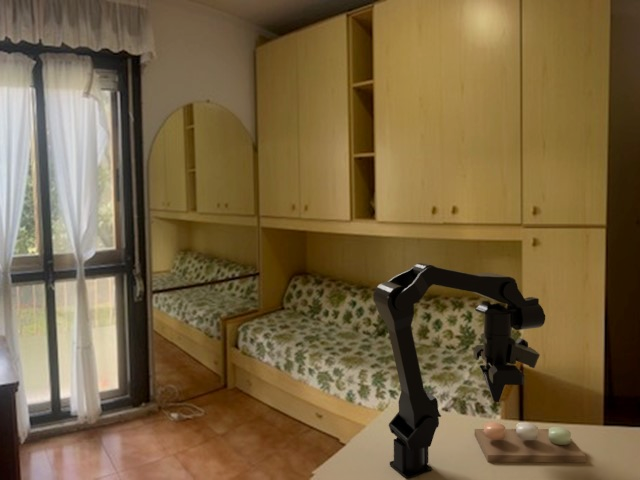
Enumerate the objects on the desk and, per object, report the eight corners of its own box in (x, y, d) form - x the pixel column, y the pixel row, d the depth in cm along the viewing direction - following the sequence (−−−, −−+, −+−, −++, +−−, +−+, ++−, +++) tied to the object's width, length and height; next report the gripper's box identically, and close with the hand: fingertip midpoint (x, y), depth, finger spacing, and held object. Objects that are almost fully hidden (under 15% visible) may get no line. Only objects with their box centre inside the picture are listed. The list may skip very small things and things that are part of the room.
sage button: (552, 444, 115) (553, 436, 114) (545, 435, 119) (545, 426, 119) (573, 444, 114) (574, 436, 114) (565, 435, 119) (565, 426, 118)
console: (487, 461, 112) (487, 454, 112) (474, 435, 124) (474, 428, 124) (585, 462, 111) (585, 454, 111) (562, 435, 123) (562, 428, 122)
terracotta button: (487, 440, 115) (487, 431, 115) (482, 430, 120) (482, 422, 119) (507, 440, 115) (507, 431, 115) (501, 430, 119) (502, 422, 119)
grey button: (519, 440, 115) (520, 431, 115) (513, 430, 119) (513, 422, 119) (540, 440, 115) (540, 431, 114) (533, 430, 119) (533, 422, 119)
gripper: (551, 345, 105) (549, 420, 107) (522, 321, 124) (520, 386, 125) (494, 344, 106) (492, 419, 107) (473, 321, 124) (472, 385, 126)
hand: (496, 401), depth 116 cm, fingers closed
